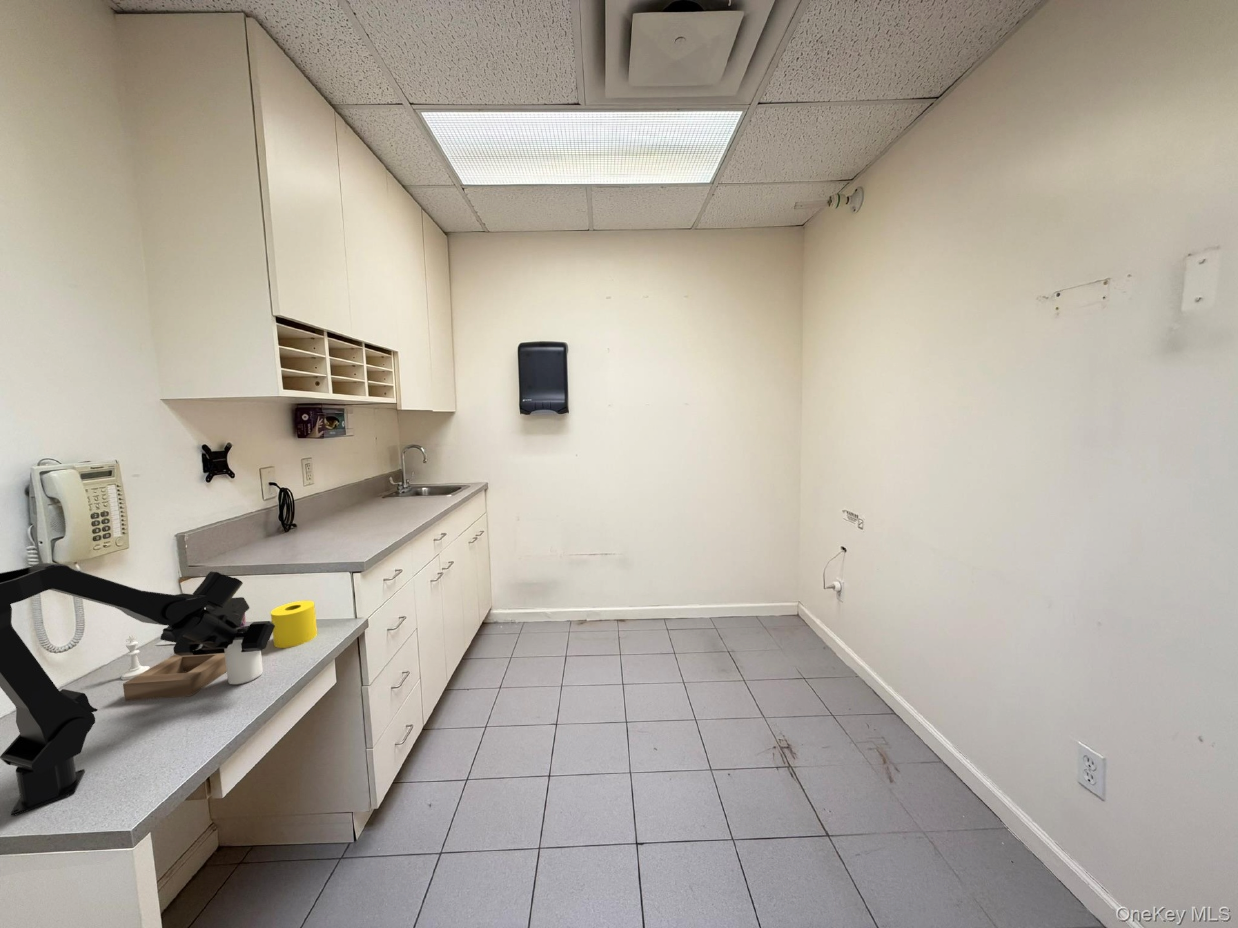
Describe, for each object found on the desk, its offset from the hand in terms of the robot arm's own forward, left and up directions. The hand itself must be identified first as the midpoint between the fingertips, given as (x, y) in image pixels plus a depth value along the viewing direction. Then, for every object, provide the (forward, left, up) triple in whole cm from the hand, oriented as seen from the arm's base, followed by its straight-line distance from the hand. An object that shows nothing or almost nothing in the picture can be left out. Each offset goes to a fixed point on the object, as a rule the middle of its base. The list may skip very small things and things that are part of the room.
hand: (247, 648), depth 106 cm
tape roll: (+15, -10, -7) cm, 19 cm away
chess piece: (+21, +22, -7) cm, 31 cm away
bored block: (+8, +12, -7) cm, 16 cm away
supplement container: (+27, +4, -7) cm, 28 cm away
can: (-1, +1, -7) cm, 7 cm away
